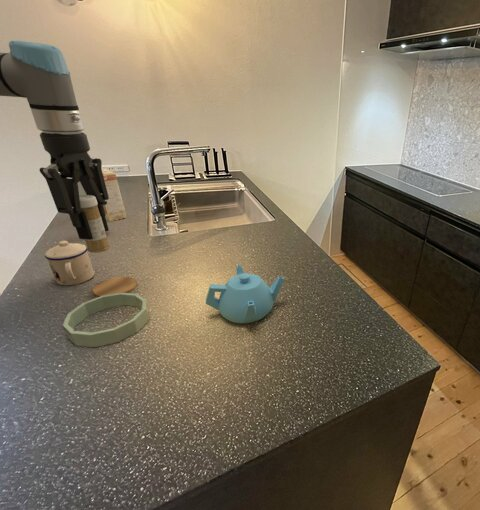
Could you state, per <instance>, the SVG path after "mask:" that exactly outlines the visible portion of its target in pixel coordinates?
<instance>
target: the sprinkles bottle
mask: <svg viewBox="0 0 480 510" xmlns="http://www.w3.org/2000/svg"><path fill="white" fill-rule="evenodd" d="M79 199H80V207H81V212H85V214H86V217H87V221H88V224H89V227H90V230H91V233H92V236H93V239H91V240H89V239H84V241H85V246H86V247H87V252H89V253H93V254H94V253H95V254H98V253H103V252H106V251H108V250H109V249H110V248H111V246H110V244H109V240H108V238H107V231H105V229H104V225H103V222H102V218H101V216H100V213H99V210H98V205H97V204H98V203H97V200H96V197H95V196H92V195H87V194H81V195H80V194H79Z"/></svg>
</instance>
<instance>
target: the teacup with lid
mask: <svg viewBox="0 0 480 510" xmlns="http://www.w3.org/2000/svg"><path fill="white" fill-rule="evenodd" d="M88 252H89V251H88V250H87V245H86V244H85V245H84V244H83V243H78V242H77V243H76V242H73V243H72V242H69V241H68V240H61V241H59V242H58V244H57V245H55V246H53V247H51V248H49V249H48V250H46V251H45V254H44V258H45V259H46V260H47V262H48V264H49V267H50V270H51V272H52V274H53V277H54V280H55V282H56V283H57V284H58V285H61V286H76V285H79V284H82V283H85V282H88V281H89V280H91V279H92V278H93V277H94V276H95V270H94V268H93V265H92V261H91V259H90V255H89V253H88Z"/></svg>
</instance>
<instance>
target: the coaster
mask: <svg viewBox="0 0 480 510" xmlns="http://www.w3.org/2000/svg"><path fill="white" fill-rule="evenodd" d="M136 287H137V280H136V279H135V278H133V277H130V276H116V277H111V278H108V279H105V280H103V281H101V282H99V283H97V284H96V285H95V286H94V287H93V288H92V294H93V295H94V297H95V298H97V297H100V296H104V295H110V294H116V293H131V292H132V291H134V289H135V288H136Z"/></svg>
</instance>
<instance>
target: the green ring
mask: <svg viewBox="0 0 480 510" xmlns="http://www.w3.org/2000/svg"><path fill="white" fill-rule="evenodd" d="M121 306H127V307H138V309H140V311H138V312H137V313H136V314H135V316H133V317H132V318H131V319H130V320H128V321H126V322H123V323H121V324H119V325H117V326H115V327H113V328H108V329H103V330H98V331H93V332H90V331H78V330H76V327H77V326H78V325H79V324H80V323H82V322H83V321H84V320H85V319H86V318H89V316H91V315H94V314H96V313H99V312H101V311H104V310H106V309H110V308H115V307H116V308H117V307H121ZM149 319H150V309H149V305H148V301H147V299H146V298H144V297H142V295H140V294H139V293H131V292H129V293H116V294H110V295H104V296H100V297H94V298H93V299H90V300H88V301H85V302H82V303H81V304H79V305H78V306H77V307H75V308H73V309H72V310H71V311H70V312H68V313H67V314H66V316H65V318H64V321H63V324H62V327H63V329H64V332H65V334H66V337H67V338H68V340H70V341H71V342H72V343H73V344H74V345H75V346H76V347H86V348H87V347H88V348H99V347H103V346H107V345H113V344H115V343H119V342H121V341H123V340H125V339H127V338H129V337H131V336H133V335H135V334H137V333H138V332H139V331H140V330H142V329H143V327H144V326H145V325H146V324H147V323H148V322H149Z"/></svg>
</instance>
